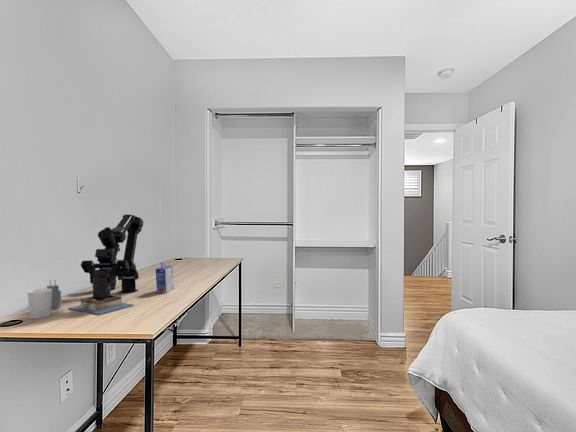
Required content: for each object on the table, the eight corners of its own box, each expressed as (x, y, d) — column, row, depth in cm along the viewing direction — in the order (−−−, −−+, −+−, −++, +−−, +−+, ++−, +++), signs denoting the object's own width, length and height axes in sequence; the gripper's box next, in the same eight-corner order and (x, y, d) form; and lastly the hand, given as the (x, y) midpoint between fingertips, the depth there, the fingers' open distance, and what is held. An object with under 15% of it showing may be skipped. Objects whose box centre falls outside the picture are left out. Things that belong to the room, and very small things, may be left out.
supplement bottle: (112, 298, 156) (111, 270, 156) (93, 301, 152) (92, 271, 152) (109, 295, 162) (108, 268, 162) (92, 297, 158) (90, 269, 158)
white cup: (26, 320, 139) (26, 293, 139) (29, 315, 146) (29, 289, 146) (51, 317, 143) (51, 291, 143) (53, 312, 150) (53, 287, 150)
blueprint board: (68, 309, 154) (68, 308, 154) (102, 300, 169) (102, 299, 169) (100, 315, 145) (100, 313, 145) (133, 305, 160) (133, 304, 160)
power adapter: (47, 307, 157) (47, 279, 157) (61, 307, 158) (61, 279, 158) (44, 309, 154) (43, 280, 154) (58, 309, 155) (58, 280, 154)
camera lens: (106, 291, 188) (106, 262, 188) (95, 290, 192) (95, 261, 192) (120, 288, 196) (119, 260, 195) (109, 287, 199) (109, 259, 199)
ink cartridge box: (164, 288, 194) (163, 261, 194) (174, 289, 194) (174, 261, 194) (155, 293, 184) (155, 263, 184) (166, 293, 184) (166, 264, 184)
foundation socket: (80, 307, 155) (80, 299, 154) (104, 302, 164) (104, 293, 164) (98, 310, 150) (98, 301, 150) (121, 304, 159) (121, 296, 159)
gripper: (82, 241, 160) (69, 272, 149) (126, 241, 161) (117, 271, 150) (90, 257, 168) (79, 287, 157) (133, 257, 169) (124, 286, 158)
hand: (99, 282), depth 156 cm, fingers open, 7 cm apart
